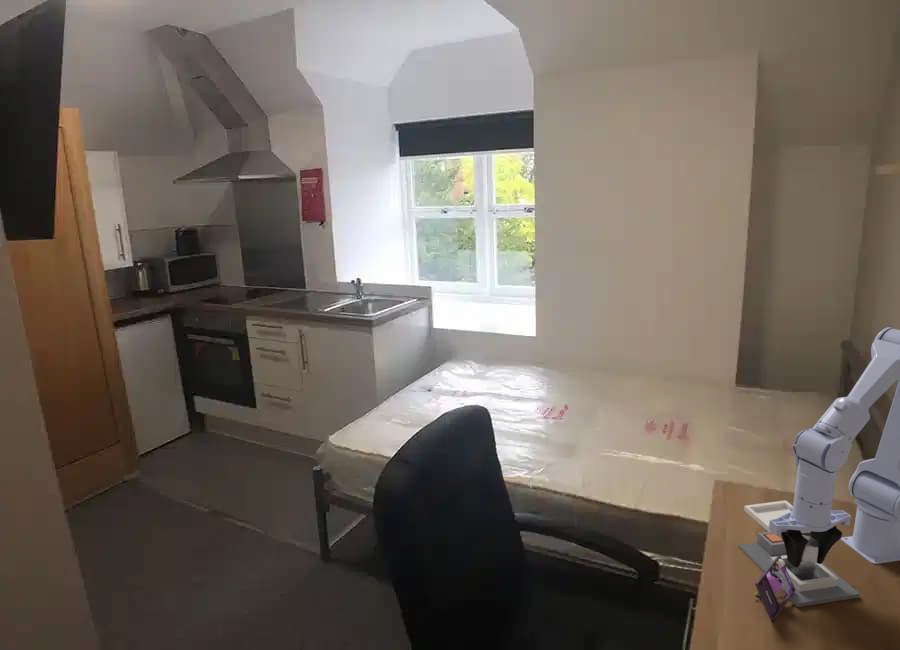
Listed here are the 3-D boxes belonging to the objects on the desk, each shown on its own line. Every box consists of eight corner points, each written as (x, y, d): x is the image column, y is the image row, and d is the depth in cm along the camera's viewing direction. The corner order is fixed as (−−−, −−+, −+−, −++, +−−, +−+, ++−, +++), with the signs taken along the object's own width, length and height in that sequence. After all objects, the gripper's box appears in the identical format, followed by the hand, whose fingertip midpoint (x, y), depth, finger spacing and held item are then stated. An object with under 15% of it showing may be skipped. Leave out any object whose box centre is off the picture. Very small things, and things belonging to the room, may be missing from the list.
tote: (784, 505, 129) (785, 500, 128) (818, 532, 119) (819, 526, 119) (743, 511, 127) (744, 505, 127) (774, 538, 118) (775, 532, 117)
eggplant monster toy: (761, 584, 96) (784, 555, 101) (732, 580, 101) (756, 552, 106) (777, 622, 96) (799, 591, 101) (747, 616, 100) (770, 587, 106)
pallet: (792, 540, 117) (794, 527, 116) (859, 597, 101) (861, 583, 100) (737, 548, 115) (739, 535, 115) (797, 607, 100) (798, 592, 99)
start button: (774, 541, 115) (775, 533, 115) (782, 548, 113) (783, 540, 112) (764, 542, 115) (765, 534, 114) (771, 549, 113) (772, 541, 112)
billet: (805, 562, 108) (809, 534, 107) (820, 576, 104) (824, 547, 103) (785, 563, 108) (788, 535, 106) (799, 578, 104) (803, 549, 103)
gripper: (832, 479, 107) (823, 543, 110) (760, 488, 105) (753, 553, 108) (864, 500, 100) (853, 567, 104) (788, 510, 98) (779, 578, 102)
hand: (804, 562), depth 106 cm, fingers open, 4 cm apart
